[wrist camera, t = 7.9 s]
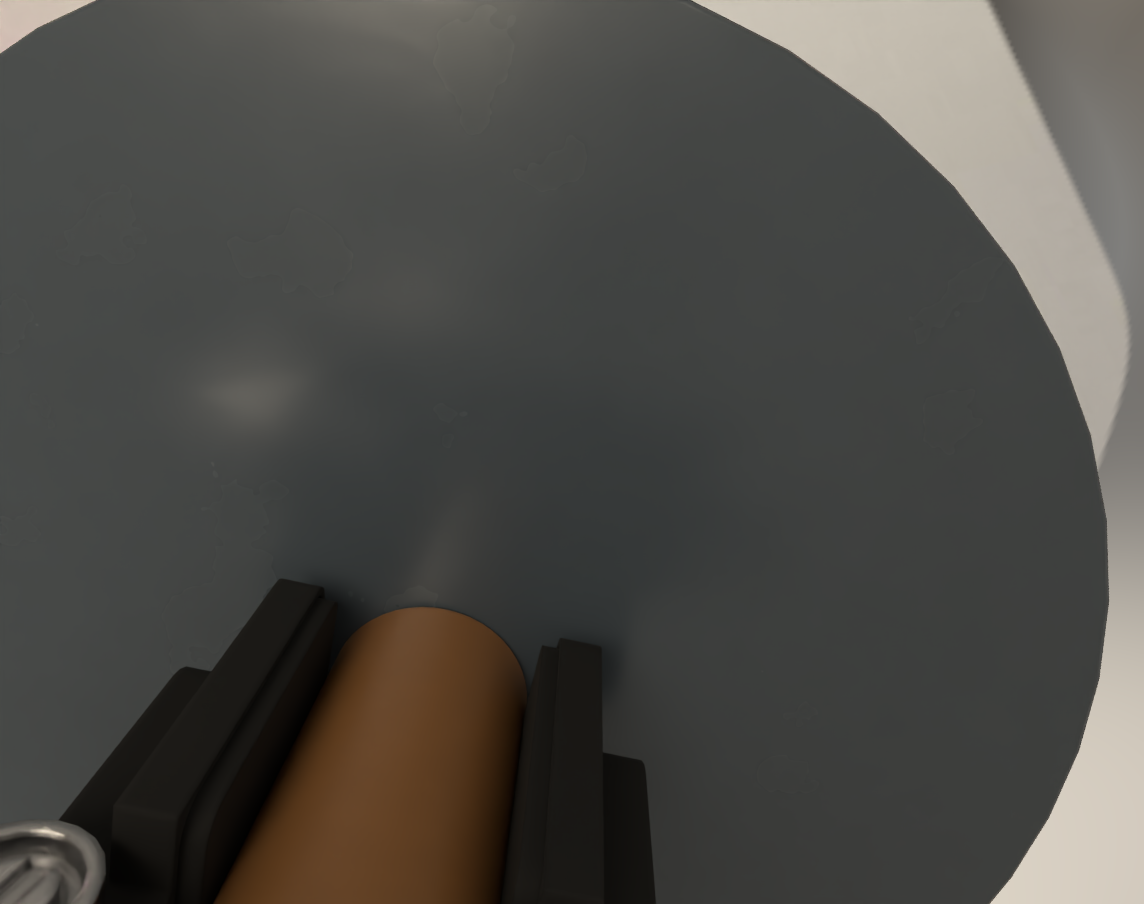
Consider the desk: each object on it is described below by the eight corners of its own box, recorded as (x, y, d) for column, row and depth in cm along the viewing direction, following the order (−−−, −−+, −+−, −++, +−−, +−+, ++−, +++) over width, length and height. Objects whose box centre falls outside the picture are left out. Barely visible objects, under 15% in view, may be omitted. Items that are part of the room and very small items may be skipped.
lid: (1309, 168, 10) (2300, 202, 4) (824, 1132, 16) (956, 1700, 10) (-221, -223, 9) (-1671, -871, 3) (-131, 955, 15) (-592, 1469, 9)
